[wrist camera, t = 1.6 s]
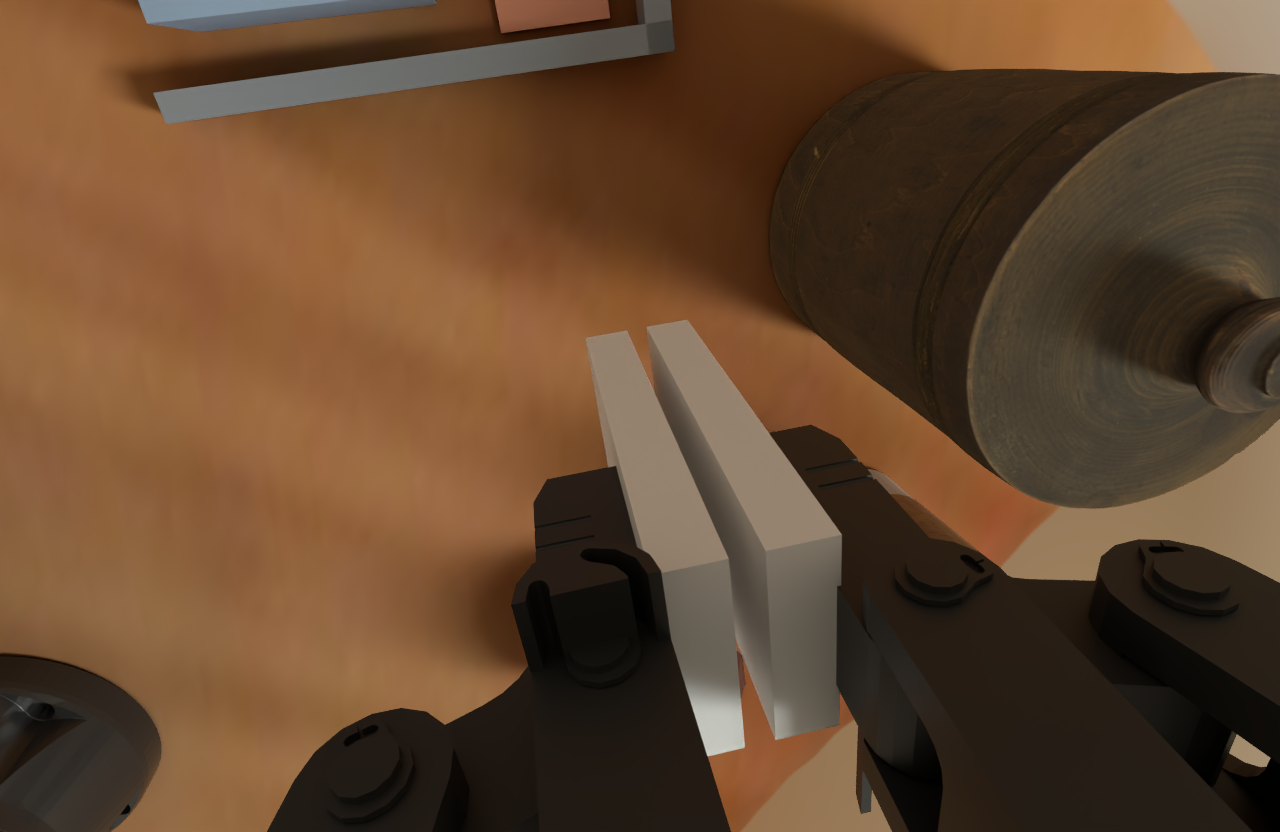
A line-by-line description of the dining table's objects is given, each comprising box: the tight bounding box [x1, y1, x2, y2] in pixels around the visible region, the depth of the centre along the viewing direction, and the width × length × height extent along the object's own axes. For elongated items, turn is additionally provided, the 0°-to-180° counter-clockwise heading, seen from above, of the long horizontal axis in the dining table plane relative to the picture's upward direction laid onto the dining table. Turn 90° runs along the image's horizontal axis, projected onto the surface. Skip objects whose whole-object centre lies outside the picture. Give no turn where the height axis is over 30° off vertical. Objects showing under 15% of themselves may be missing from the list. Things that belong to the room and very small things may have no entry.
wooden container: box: [769, 69, 1280, 509], centre depth 28 cm, size 15×15×22 cm
